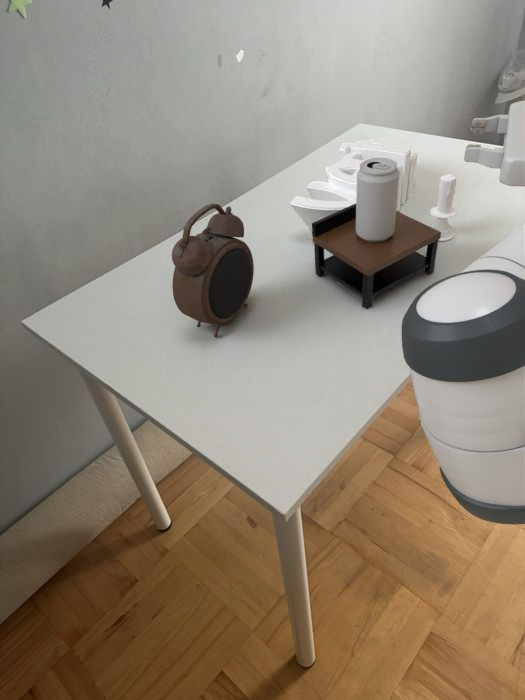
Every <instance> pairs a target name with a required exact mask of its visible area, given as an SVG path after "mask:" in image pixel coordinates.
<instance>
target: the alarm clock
mask: <svg viewBox="0 0 525 700" xmlns="http://www.w3.org/2000/svg"><path fill="white" fill-rule="evenodd" d="M213 209H215V210H216V211H217V213H215V214H213V215H212V216H211V217H210V219H209V221H208V222H207V226H206V227H205V229H203V230H202V232H200V233H197V234H196V235H191V230H192V228H193V226H194V225H195V224H196V222H197V221H198V220H199V219H200V218H201V217H203V216H204V215H205V214H206V213H208V212H210V211H211V210H213ZM244 225H245V224H244V222H243V220H242V219H241V218H240V217H239V216H237V215H236V214H234V213H233V212H232V207H231V206H229V205H228V206H227V207H225V210H224V209H223V207H222V206H221V205H220V204H218V203H215V202H214V203H213V202H212V203H209V204H206V205H204V206H202V207H201V208H199V210H198V211H196V212H195V213H194V214H193V215H192V216H190V218H189V219H188V220H187V221H186V223H185V225H184V227H183V232H182V237H181V238H180V239H179V240H178V241H176V243H175V244H174V245H173V247H172V250H171V261H172V264H173V265H174V269H173V275H172V296H173V299H174V303H175V305H176V307H177V309H178V310H179V311H180V312H181V314H183V315H184V316H187V317H188V318H191V319H192V320H194V321H197V324H196V326H197V328H200V327H201V323H203V324H207V325H212V326H214V334H213V337H214V338H217V337H219V331H220V327H221V326H226V325H227V324H229V323H231V322H232V321H234V320H235V319H236V317H237V316H238V315H239V314H240V313H241V311H242V310H243V308H248V307H249V303H246V302H247V300H248V298H249V296H250V293H251V290H252V286H253V281H254V273H255V272H254V271H255V265H254V257H253V254H252V250H251V249H250V247H249V245H248V244H247V243H246V242H245V241H243V240H241V239H239V238H245V226H244Z"/></svg>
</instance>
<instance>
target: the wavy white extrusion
mask: <svg viewBox="0 0 525 700" xmlns="http://www.w3.org/2000/svg"><path fill="white" fill-rule="evenodd" d="M338 149H339V156H340V160H338V161H337V163H335V164H331V165H328V166H326V167H324V170H325V173H326V176H327V177H326V178H327V181H321V180H313V181H311V182H310V183H309V184H307V186H306V190H307V192H308V194H309V195H310V197H311V198H308V197H305V196H304V197H303V196H300V195H296V196H295V197H294V198H293V199H292V200H291V201H290V202H289V205H290V206H291V207H292V209H293V210H294V211H295V213H296V214H297V215H298V216H299V218H300V219H301V220H302V221H303V222H304V224H305V225H306V227H307V228H308V229H309V230H310V231H311V232H312V223H314V222H316V221H318V220H320V219H322V218H325V217H327V216H329V215H331V214H333V213H336V212H338V211H340V210H342V209H344V208H347V207H349V206H351V205H353V204H355V203H356V196H357V172H358V171H359V169H360V164H361V163H362V162H363V161H365V160H368V159H372V158H388V159H392V160H394V161H395V162H396V163H397V164H398V167H397V169H398V170H399V185H398V197H397V208H396V211H398V212H400V210H401V206H403V205H405V203H406V201H407V199H408V198H409V197H410V196H411V195H412V193H413V187H414V181H415V174H416V167H417V162H418V156H419V152H417V151H416V149H414V148H412V147H411V146H408V145H406V144H404V143H401V142H397V141H393V140H389V139H382V138H370V139H368V138H367V139H364V140H359V141H358V142H357V141H356V142H352V141H343V142H342V144H341V145H340V146H339V148H338Z"/></svg>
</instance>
